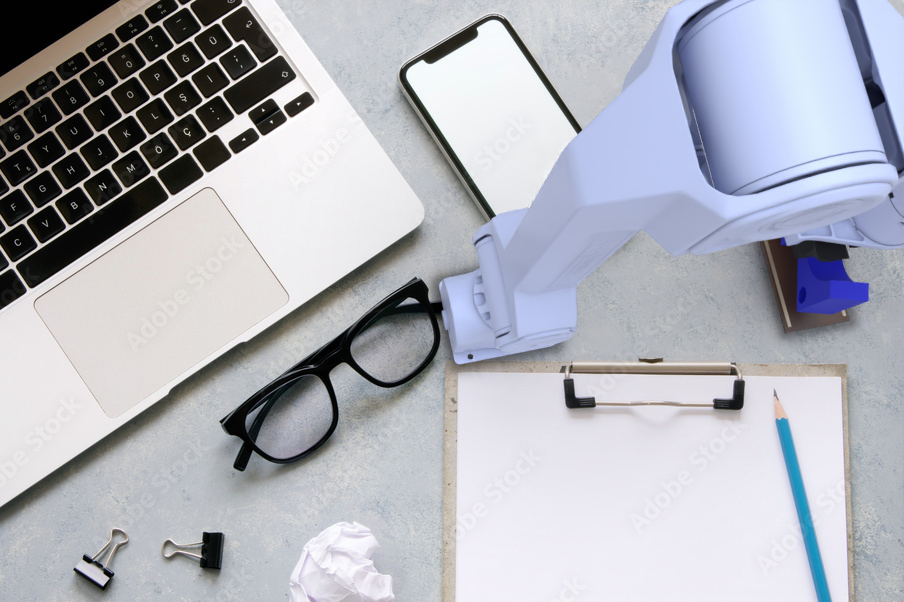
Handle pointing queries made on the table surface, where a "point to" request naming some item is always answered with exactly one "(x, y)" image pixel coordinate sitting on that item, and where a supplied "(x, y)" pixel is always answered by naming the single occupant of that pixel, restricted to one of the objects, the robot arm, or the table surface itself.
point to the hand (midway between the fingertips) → (823, 241)
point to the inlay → (791, 289)
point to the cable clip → (826, 287)
